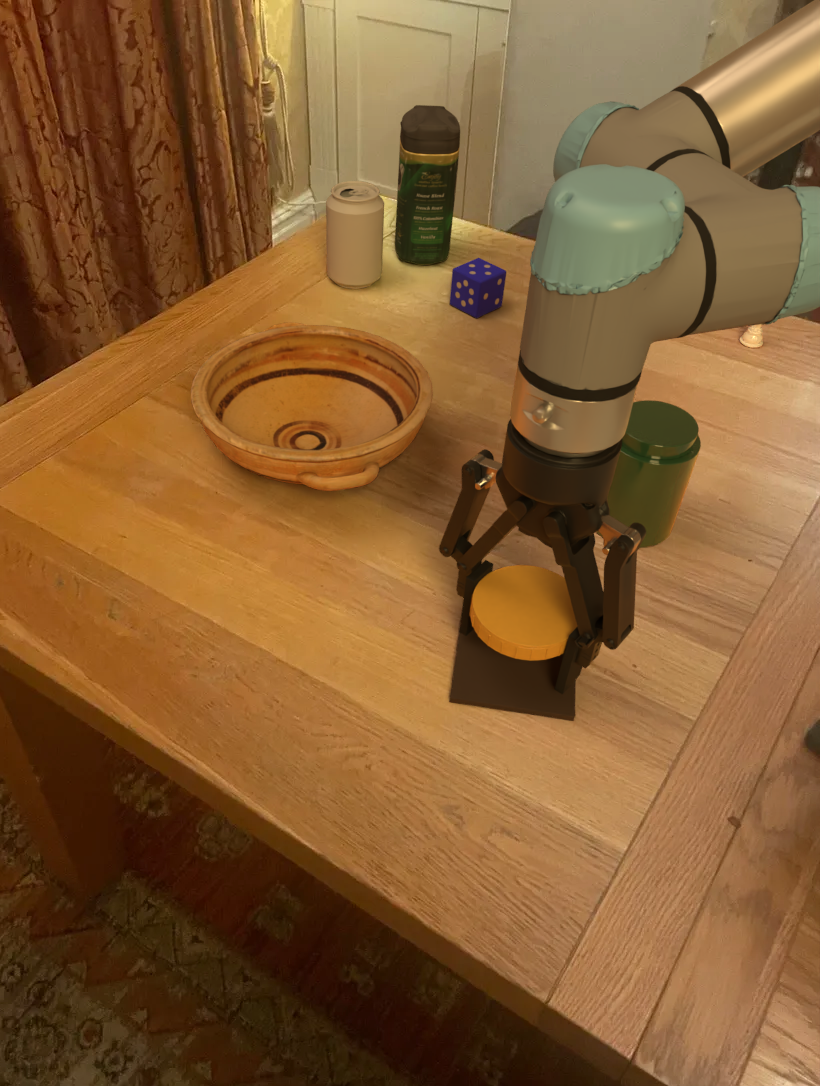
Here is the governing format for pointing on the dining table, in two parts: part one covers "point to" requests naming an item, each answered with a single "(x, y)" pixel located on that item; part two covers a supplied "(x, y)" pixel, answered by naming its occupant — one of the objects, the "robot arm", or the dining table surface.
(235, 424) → the ceramic bowl
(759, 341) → the chess pawn
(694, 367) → the dining table surface
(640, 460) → the jar
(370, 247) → the can
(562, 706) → the coaster
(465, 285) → the die
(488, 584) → the jar lid
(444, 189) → the coffee jar
